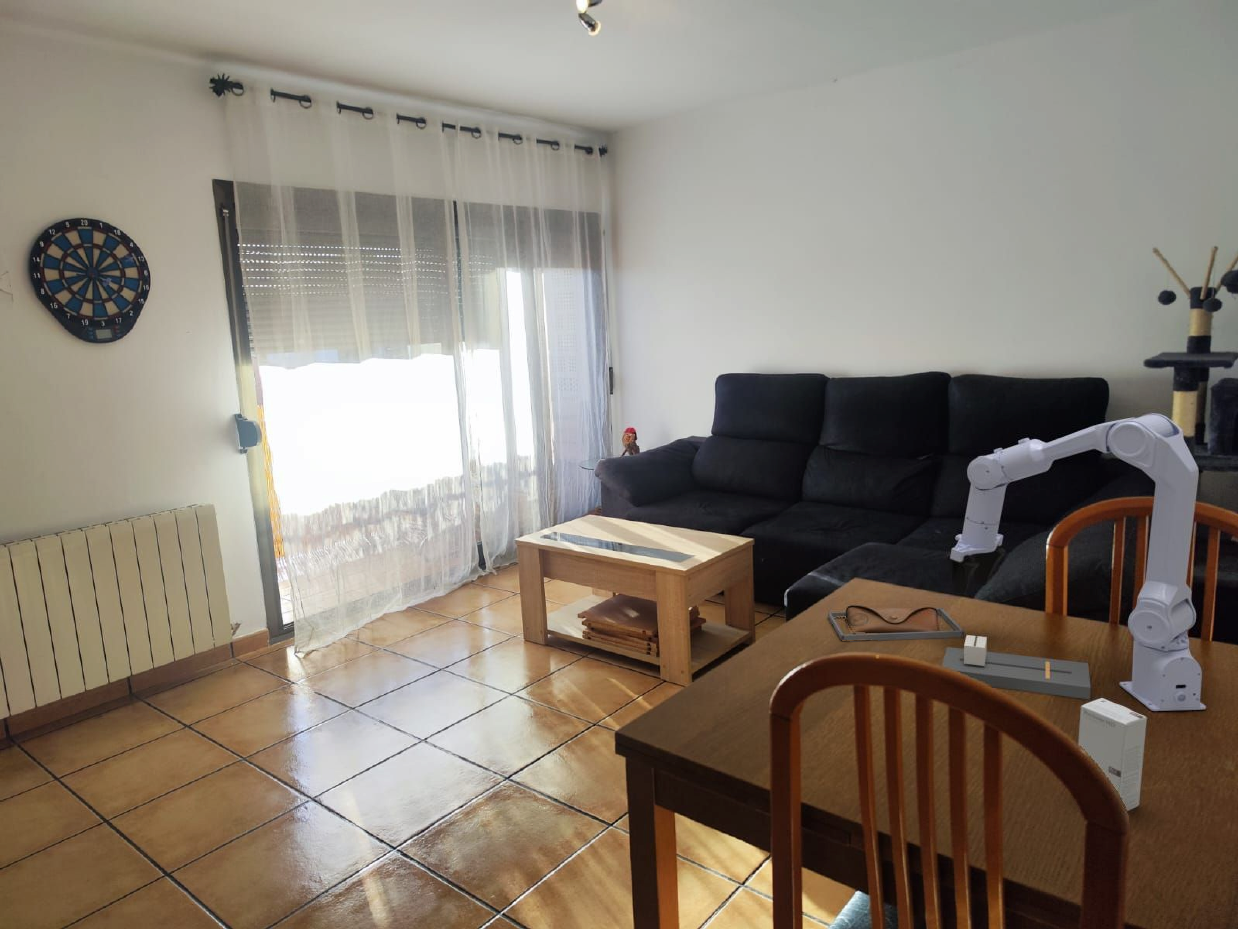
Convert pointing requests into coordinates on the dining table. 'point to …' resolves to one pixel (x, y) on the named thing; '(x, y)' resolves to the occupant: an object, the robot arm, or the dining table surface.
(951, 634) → the case rim
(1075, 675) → the fader panel
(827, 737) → the dining table surface
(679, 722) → the dining table surface
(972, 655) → the fader
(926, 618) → the sunglasses case
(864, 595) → the dining table surface
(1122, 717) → the skincare box
